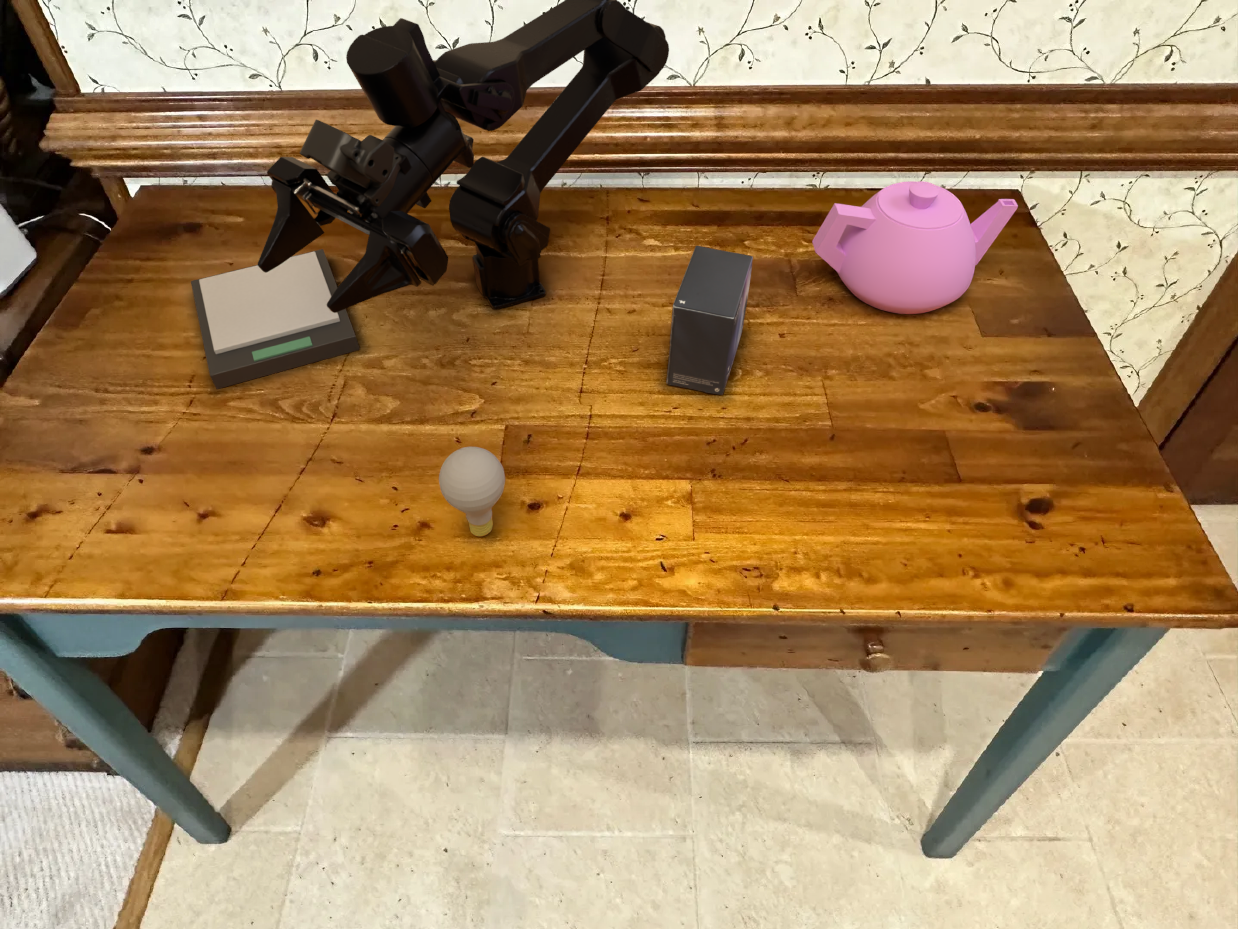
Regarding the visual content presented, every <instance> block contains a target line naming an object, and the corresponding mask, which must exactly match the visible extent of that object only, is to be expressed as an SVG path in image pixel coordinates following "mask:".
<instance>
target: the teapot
mask: <svg viewBox="0 0 1238 929" xmlns="http://www.w3.org/2000/svg"><path fill="white" fill-rule="evenodd" d="M1018 207H1019V205H1018V203H1017V201H1016V200H1015V199H1014V198H998V200H997V201H996V202H995V203H994V204H993V205H992V206H990V208H988V209H987V210H986V211H985V212H983V213H982V214H981V215H980V216H978V217H977V218H976V219H975V220H974V221H972V222H971V223H970V220H969V217H968V213H967V212H966V209H965V208H964V205H963V203H962V202H961V201H960V200H959V198H958V197H957V196H956V194H955V195H954V194H953V193H952V192H951V191H949V190H948V189H946V188H944V187H942V186H939V185H936V184H934V183H933V182H929V181H924V180H921V181H920V180H919V181H918V180H917V181H914V180H913V181H909V180H907V181H900V182H896V183H892V184H890V185H887V186H885V187H883V188H882V189H881V190H879V191H877V192H876V193H875V194H873V195H872V196H871V197H870V198H869V199H868V200H867V201H866V202H864V203H863V205H861V206H856V205H850V204H844V203H836V202H834V204H833V205H832V206H831V209H830V210H829V212H828V213H827V215H826V217H825V219H824V221H823V222H822V224H821V226H820V227H819V229H818V231H817V232H816V234H815V236H814V238H813V239H812V240H811V241H812V246H813V249H814V252H815V254H817V255H818V256H819V258H821V259H822V260H823V261H824V262H826V263H827V264H828V265H829V266H830V267H831V268H833V270H835V271H836V273H837V275H838V276H839V278H840V281H842V283H843V284H844V285H845V286H846V288H847V289H848V290H849V291H850V292H851V293H852V294H853V296H854V297H856V298H857V299H858V300H860V301H861V302H863V303H865V304H866V305H869V306H870V307H872V308H876V309H878V310H880V311H884V312H888V313H893V314H899V315H900V314H901V315H916V314H917V315H918V314H925V313H928V312H933V311H935V310H938V309H941V308H943V307H945V306H947V305H950V304H951V303H953V302H955V301H956V300H959V298H961V297H962V296H963V295H964V294H965V293H966V291H967V290H968V289H969V287H970V286H971V283H972V281H973V278H974V275H975V269H976V268H975V267H976V266H977V265H978V264H979V263H980V261H981V260H982V258H983V257H984V255H985V254H986V253H987V251H988V250H989V249H990V247H991V246H992V245H993V243H994V242H995V240H996V239H997V237H998V236H999V235H1000V233H1001V232H1002V230H1003V229H1004V228H1005V226H1006V225H1007V223H1008V222H1009V221H1010V219H1011V218H1012V217H1013V215H1014V214H1015V212H1016V211H1017V209H1018Z"/></svg>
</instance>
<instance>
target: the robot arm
mask: <svg viewBox="0 0 1238 929" xmlns="http://www.w3.org/2000/svg"><path fill="white" fill-rule="evenodd" d="M666 38H667V37H666V33H665V30H664V29H663V28H662V26H660V25H658V24H654V23H650V22H649V21H646V20H644V19H643V18H641V17H640V16H638V15H636V14H635V13H634V12H632V11H630V10H629V9H627V8H626V6H624V4H623V3H621V1H619V0H563V1H561V2H560V3H559V4H556V5H555V6H553V7H551V8H550V9H548V10H547V11H545V12H543V13H542V14H541V15H539V16H537V17H535V18H534V19H532V20H531V21H529V22H527V23H526V24H524V25H523V26H521V27H519V28H518V29H516V30H514V31H513V32H511V33H509V34H508V35H506V36H504V37H503V38H501V39H497V40H494V41H487V42H471V43H468V44H464V45H462V46H458V47H455V48H452V49H449V50H447V51H445V52H443V53H442V54H440V56H439V57H437V59H433V57H432V55H431V53H430V51H429V48H428V47H427V44H426V40H425V36H424V33H423V32H422V29H421V27H420V24H419V23H416V22H413V21H411V20H408V19H406V18H402V17H400V18H399V19H398V20H397V21H396V22H395V23H394V24H393V25H387V26H386V25H385V26H380V27H378V28H377V27H376V28H374V29H373V30H370V31H368V32H366V33H365V34H360V35H358V36H357V37H355V39H354V40H353V41H352V43H350V45H349V47H348V50H347V52H346V57H345V58H346V64H347V66H348V67H349V69H350V71H351V72H352V74H353V76H354V78H355V80H356V82H358V85H359V86H360V88H361V90H362V92H363V93H364V96H365V97H366V99H367V100H368V102H369V104H370V106H371V107H372V109H373V111H374V112H375V114H376V116H377V118H378V119H379V120H380V121H381V122H382V123H383V124H385V125H388V126H393V128H392V129H391V130H390V131H389V132H388V133H387V134H386V135H385V136H384V138H382V139H381V138H378V137H377V136H374V135H372V134H369V135H367V136H366V137H364V138H363V139H362V140H360V139H359V138H358V137H357V138H356V137H355V136H353V135H351V134H348V133H347V132H345V131H343V130H341V129H338V128H337V127H334V126H332V125H330V124H328V123H325V122H324V121H322V120H319V119H315V120H314V122H313V124H312V127H311V128H310V130H309V132H308V135H307V136H306V138H305V140H304V143H303V145H302V147H301V149H300V151H299V154H300V155H301V156H302V157H304V158H306V159H308V160H309V159H312V160H313V161H315V162H316V163H317V164H320V165H321V166H323V167H324V168H326V169H327V170H329V171H328V173H326V175H325V176H326V177H327V179H328V180H329V182H330V183H331V184H332V185H333V186H335V187H336V188H337V189H338V190H337V191H336V192H334V191H333V190H332V188H331V187H330V186H329V184H328V182H327V181H326V180H325V179H324V177H323V176H322V174H321V173H320V171H319V169H317V168H315V167H314V166H311V165H310V164H308V163H306V162H304V161H301V160H299V159H298V158H295V157H293V156H280V157H279V158H278V159H277V160H276V161H275V162H274V163H273V164H272V166H271V167H269V169H268V170H266V174H267V176H268V177H269V178H270V179H271V183H270V184H271V185H270V186H271V189H272V191H274V193H275V194H276V203H277V204H276V205H277V208H276V213H275V217H274V220H273V223H272V226H271V228H270V231H269V233H268V236H267V238H266V240H265V244H264V246H263V249H262V251H261V254H260V256H259V259H258V261H257V265H258V267H259V268H260V269H261V270H262V271H263V272H265V273H267V272H269V271H270V270H272V269H274V268H276V267H277V266H279V265H280V264H282V263H283V262H285V261H286V260H287V259H289V258H290V257H292V256H295V255H297V253H299V252H300V251H302V250H304V248H305V247H307V246H309V245H310V244H312V243H313V242H314V241H315V240H317V239H318V238H320V237H321V236H322V235H324V234H325V231H324V230H323V229H322V227H323V226H326V225H329V224H330V225H331V224H332V223H333V222H334V221H335V220H336V219H338V220H339V221H341V222H343V223H345V224H347V225H349V226H351V227H353V228H355V229H357V230H359V231H361V232H362V233H364V234H366V235H368V239H367V242H366V243H367V244H366V248H365V252H364V254H363V256H362V257H361V259H360V260H359V261H358V262H357V263H356V265H355V266H354V267H353V268H352V269H351V271H350V272H349V273H348V274H347V275H346V277H345V278H344V279H343V280H342V281H341V283H340V284H339V286H337V287H338V288H337V289H336V290H335V292H334V293H333V295H332V296H331V298H330V299H329V301H328V302H327V307H328V308H329V309H330V311H332V312H333V313H337V312H339V311H341V310H344V309H346V310H347V309H349V308H351V307H354V306H355V305H358V304H361V303H363V302H366V301H369V300H370V299H373V298H376V297H378V296H381V295H383V294H387V293H390V292H393V291H396V290H399V289H403V288H405V287H409V286H413V287H417V288H419V287H420V286H421V284H422V281H423V282H424V283H426V284H428V285H430V286H432V287H433V286H435V285H436V284H437V283H438V282H439V281H440V280H441V278H442V277H443V276H444V275H445V273H446V272H447V270H448V266H449V256H448V254H447V252H446V250H445V249H444V247H443V245H442V244H441V242H440V240H439V238H438V237H437V236H436V234H435V232H434V230H433V229H432V227H431V225H430V224H429V223H427V222H425V221H424V220H421V219H419V218H417V217H415V216H413V215H411V214H409V212H410V211H411V210H412V209H413V208H414V207H415V206H416V205H417V206H418V207H420V208H423V209H426V208H427V207H428V206H429V205H430V204H431V203H432V199H431V197H430V194H428V191H429V190H430V189H431V187H432V186H433V185H434V184H435V183H436V182H437V181H438V180H439V179H440V178H441V177H442V175H443V174H444V173H445V172H446V171H447V169H449V167H450V166H451V165H452V164H453V162H455V163H457V164H460V165H462V166H464V167H466V168H468V169H469V170H468V172H467V173H466V174H465V175H464V176H463V177H460V179H458V180H456V185H459V186H457V188H456V189H455V190H454V192H453V193H452V194H451V196H450V199H449V205H448V211H449V221H450V224H451V225H452V229H454V230H455V232H457V233H459V234H461V236H462V237H463V238H464V239H465V240H467V241H471V242H473V243H474V246H475V252H476V254H473V255H472V257H471V258H472V265H473V271H474V272H473V273H474V277H475V279H474V280H475V284H476V286H477V288H478V290H479V292H480V294H481V296H482V297H483V298H486V300H487V301H488V303H489V305H490V308H492V309H493V310H499V309H502V308H506V307H510V306H513V305H517V304H521V303H524V302H528V301H532V300H536V299H539V298H543V297H545V296H546V294H547V290H546V289H545V287H544V285H543V284H542V282H541V276H540V265H539V259H540V258H541V257H542V256H541V255H542V254H541V253H542V251H543V250H545V249H546V248H547V247H548V246H549V240H550V236H551V235H550V234H551V228H550V227H549V226H547V225H545V224H544V223H541V222H540V221H538V219H539V212H540V203H541V202H540V201H541V193H542V192H543V190H544V189H545V187H546V186H547V185H548V184H549V183H550V181H551V180H552V179H553V178H554V176H555V175H556V174H557V173H558V172H559V170H560V169H561V168H562V167H563V166H564V164H565V163H566V162H567V160H568V159H569V158H570V157H571V155H573V153H574V152H575V151H576V150H577V148H578V147H579V146H580V144H581V143H582V142H583V141H584V140H585V138H586V137H587V136H588V135H589V133H590V132H591V131H592V130H593V129H594V127H595V126H596V125H597V123H599V122H600V120H601V119H602V118H603V116H604V115H605V114H606V113H607V111H608V110H609V109H610V107H611V106H612V105H613V104H614V103H615V102H616V101H617V100H621V99H622V98H625V97H629V96H631V95H633V94H637V93H639V92H641V91H642V90H643V89H645V88H646V87H647V86H648V85H649V84H650V83H651V82H652V81H653V80H654V79H656V77H657V76H658V75H659V74H660V73H661V71H662V70H663V69H665V68H664V67H665V66H666V64H667V62H668V59H669V54H670V46H669V42H668V41H667V39H666ZM582 52H583V60H582V66H581V68H580V69H579V71H578V72H577V73H576V74H575V75H574V77H573V78H572V79H571V80H570V81H569V82H568V84H566V86H565V87H564V88H563V90H562V91H561V92H560V94H559V95H558V96H557V97H556V98H555V99H554V100H553V102H552V103H551V104H550V105H549V106H548V107H547V109H546V110H545V111H544V112H543V113H542V114H541V116H540V117H539V118H538V119H537V120H536V122H535V123H534V124H533V125H532V127H531V128H530V129H528V132H527V133H525V135H524V136H523V137H522V139H521V140H520V141H519V142H518V143H517V145H516V146H515V147H514V148H513V149H512V151H511V152H510V153H509V154H508V156H506V157H505V158H504V159H502V160H499V161H497V162H496V161H495V160H492V159H489V158H487V157H485V156H481V157H479V158H478V159H476V160H475V154H474V149H473V148H474V147H473V146H474V143H475V142H474V139H475V138H474V137H472V136H470V135H467V134H465V133H464V131H463V129H462V127H461V125H460V123H459V121H458V120H460V121H463V122H464V123H467V124H470V125H472V126H474V127H477V128H479V129H482V130H483V131H487V132H494V131H496V130H498V129H500V128H502V126H504V125H505V124H506V123H507V122H508V121H509V120H510V119H511V118H512V117H513V116H515V114H517V112H518V111H520V109H521V108H523V107H524V105H525V104H524V103H525V99H526V96H527V93H528V92H527V91H528V89H530V88H531V87H532V86H533V85H534V84H536V83H537V82H538V81H540V80H541V79H543V78H545V77H546V76H548V75H549V74H551V73H552V72H554V71H556V69H558V68H560V67H562V65H564V64H565V63H568V62H569V61H570V60H572V59H573V58H575V57H576V56H578V55H579V54H580V53H582Z"/></svg>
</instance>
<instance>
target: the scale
mask: <svg viewBox="0 0 1238 929" xmlns="http://www.w3.org/2000/svg"><path fill="white" fill-rule="evenodd" d="M190 286H191V290H192V295H193V300H194V305H195V311H196V316H197V320H198V325H199V329H200V334H201V340H202V344H203V349H204V353H205V354H204V355H205V358H206V364H207V369H208V373H209V377H210V379H211V381H212V383H213V386H214V387H215V389H216V390H220V389H223V388H226V387H230V386H234V385H237V384H241V383H244V382H248V381H253V380H257V379H260V378H262V377H263V378H264V377H266V376H270V375H273V374H277V373H281V372H285V371H288V370H291V369H292V370H293V369H296V368H299V367H303V366H306V365H310V364H313V363H317V362H321V361H325V360H328V359H331V358H335V357H339V356H342V355H346V354H350V353H353V352H356V351H360V345H359V341H358V338H357V335H356V332H355V330H354V327H353V324H352V322H351V319H350V316H349V314H348V312H347V308H346V309H344V310H341V311H339V312H337V313H333V312H332V311H330V309H329V308H328V307H327V302H328V301H329V299H330V298H331V296H332V295H333V293H334V292H335V290H336V289H337V288H338V287H339V286H338V284H337V282H336V280H335V277H334V274H333V271H332V269H331V266H330V263H329V261H328V258H327V255H326V253H325V250H324V248H321V249H317V250H313V251H308V252H303V253H300V254H295V255H293V256H292V257H290V258H289V259H287V260H286V261H285V262H283V263H282V264H280V265H279V266H277V267H276V268H274V269H272V270H270V271H269V272H267V273H265V272H263V271H262V270H261V269H260V268H259V267H258V264H255V265H252V266H247V267H243V268H238V269H234V270H230V271H227V272H221V273H218V274H214V275H210V276H206V277H202V278H198V279H193V280H190Z"/></svg>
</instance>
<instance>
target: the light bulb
mask: <svg viewBox="0 0 1238 929" xmlns="http://www.w3.org/2000/svg"><path fill="white" fill-rule="evenodd" d="M438 483H439V490H440V492H441V495H442V496H443V498H444V500H445V501H446V502H447V503H448V504H449V505H450V506H451V507H453V508H454V509H456V510H458V511H459V512H462V513H464V514H465V519H466V521H468V526H469V532H470V533H471V534H472V535H473V536H475V537H484V536H486V535H489V533H491V531H492V530H493V527H494V523H493V522H494V521H493V510H492V508H493V507H494V505H496V504H497V502H498V501H499V499H500V498H501V497H502V495H503V493H504V489H505V484H506V475H505V469H504V466H503V464H502V463H501V461H500V460H499V459H498V457H497V456H496V455H495V454H494V453H493V452H491V451H489V450H488V449H486V448H483V447H479V446H465V447H461V448H458V449H456V450H455V451H453V452H452V453H450V454H449V455H448V456H447V457H446V458H445V460H444V461H443V463H442V465H441V467H440V470H439V474H438Z"/></svg>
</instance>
